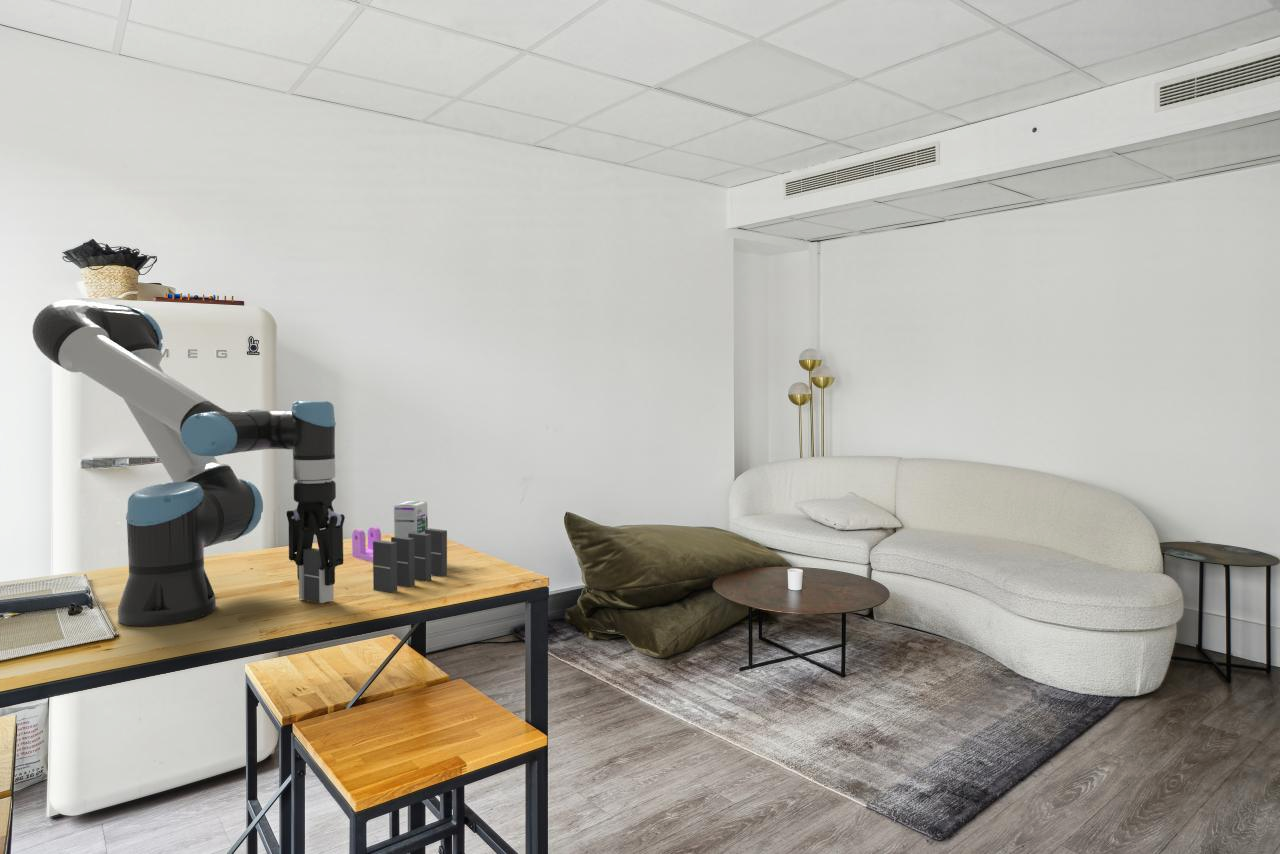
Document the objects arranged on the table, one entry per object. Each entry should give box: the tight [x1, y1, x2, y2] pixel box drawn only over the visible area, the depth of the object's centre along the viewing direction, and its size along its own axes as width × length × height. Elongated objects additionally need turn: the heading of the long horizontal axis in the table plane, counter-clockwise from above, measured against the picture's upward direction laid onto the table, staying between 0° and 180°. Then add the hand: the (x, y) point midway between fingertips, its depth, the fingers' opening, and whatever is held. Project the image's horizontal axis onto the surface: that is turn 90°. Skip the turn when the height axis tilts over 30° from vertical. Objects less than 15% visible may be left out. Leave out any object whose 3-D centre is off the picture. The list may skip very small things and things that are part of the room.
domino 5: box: [425, 527, 448, 577], centre depth 170 cm, size 5×2×10 cm, turn 63°
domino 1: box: [303, 547, 322, 604], centre depth 148 cm, size 5×2×10 cm, turn 63°
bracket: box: [351, 526, 382, 563], centre depth 185 cm, size 13×6×7 cm, turn 50°
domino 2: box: [372, 539, 398, 594], centre depth 156 cm, size 5×2×10 cm, turn 63°
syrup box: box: [393, 500, 429, 537], centre depth 179 cm, size 6×6×14 cm
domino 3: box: [390, 536, 416, 588], centre depth 161 cm, size 5×2×10 cm, turn 63°
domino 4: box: [408, 532, 432, 583], centre depth 165 cm, size 5×2×10 cm, turn 63°
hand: (316, 599), depth 149 cm, fingers closed on domino 1, 5 cm apart
